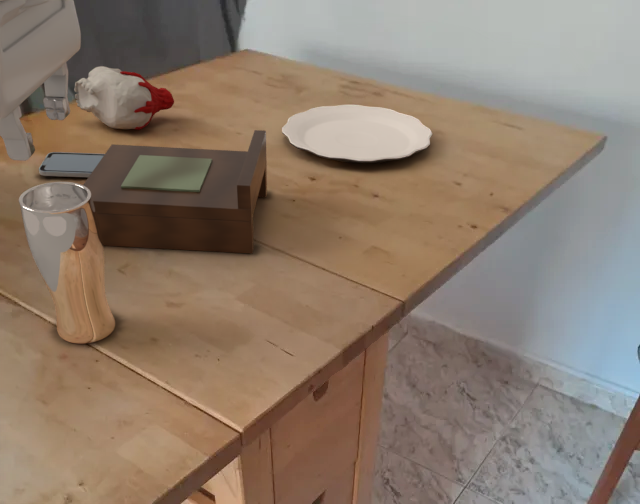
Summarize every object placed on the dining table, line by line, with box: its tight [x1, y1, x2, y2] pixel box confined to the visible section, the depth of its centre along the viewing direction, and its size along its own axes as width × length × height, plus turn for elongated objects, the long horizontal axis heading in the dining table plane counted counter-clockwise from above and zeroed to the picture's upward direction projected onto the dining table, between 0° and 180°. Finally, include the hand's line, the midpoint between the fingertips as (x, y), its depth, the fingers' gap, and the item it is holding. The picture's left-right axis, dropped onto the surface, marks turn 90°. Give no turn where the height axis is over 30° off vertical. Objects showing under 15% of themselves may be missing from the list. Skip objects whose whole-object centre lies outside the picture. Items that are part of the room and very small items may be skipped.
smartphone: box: [38, 151, 105, 178], centre depth 105 cm, size 7×1×15 cm
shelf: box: [82, 129, 268, 254], centre depth 91 cm, size 22×18×9 cm
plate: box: [281, 104, 433, 164], centre depth 116 cm, size 25×25×2 cm
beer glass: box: [18, 181, 116, 345], centre depth 70 cm, size 7×7×15 cm
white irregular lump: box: [73, 65, 175, 131], centre depth 116 cm, size 9×11×15 cm
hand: (42, 136), depth 61 cm, fingers open, 8 cm apart
